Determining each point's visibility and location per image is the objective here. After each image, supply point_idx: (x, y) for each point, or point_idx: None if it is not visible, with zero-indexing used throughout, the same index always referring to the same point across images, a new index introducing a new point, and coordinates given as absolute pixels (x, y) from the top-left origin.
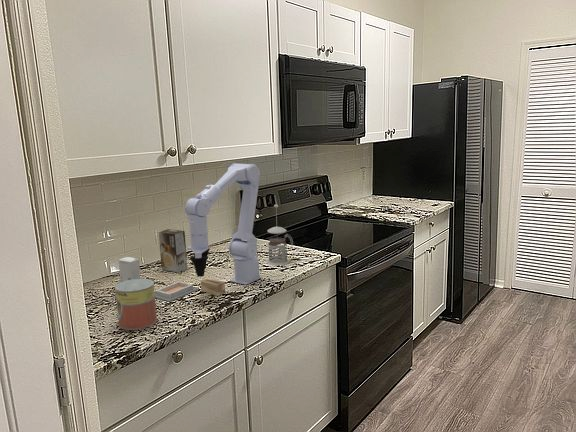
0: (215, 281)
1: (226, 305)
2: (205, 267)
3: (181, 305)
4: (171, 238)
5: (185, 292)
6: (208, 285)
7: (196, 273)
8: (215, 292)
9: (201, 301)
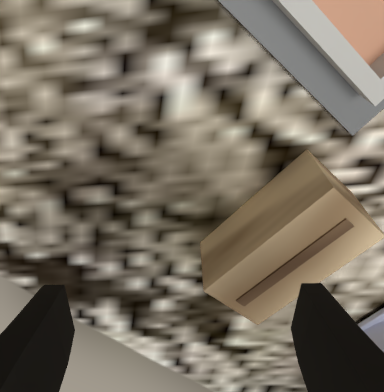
0: (286, 279)
1: None
2: (294, 345)
3: (38, 30)
4: None
5: (297, 36)
6: (261, 230)
7: (24, 309)
8: (211, 245)
9: (114, 165)
